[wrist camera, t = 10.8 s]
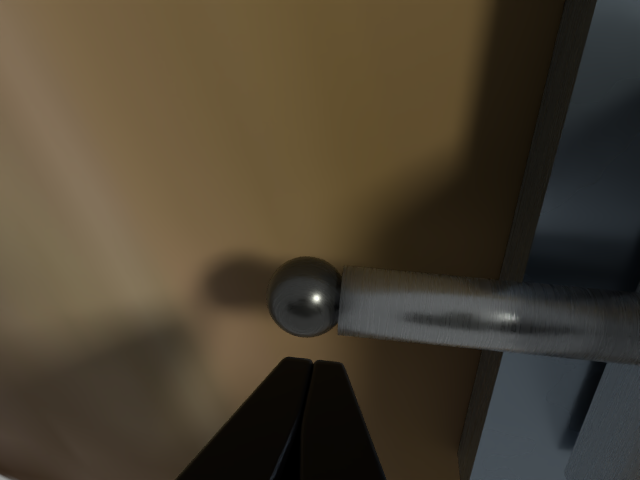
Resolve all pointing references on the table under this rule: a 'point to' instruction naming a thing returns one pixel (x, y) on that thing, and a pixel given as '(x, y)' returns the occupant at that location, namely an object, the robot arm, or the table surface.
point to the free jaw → (487, 334)
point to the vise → (565, 240)
